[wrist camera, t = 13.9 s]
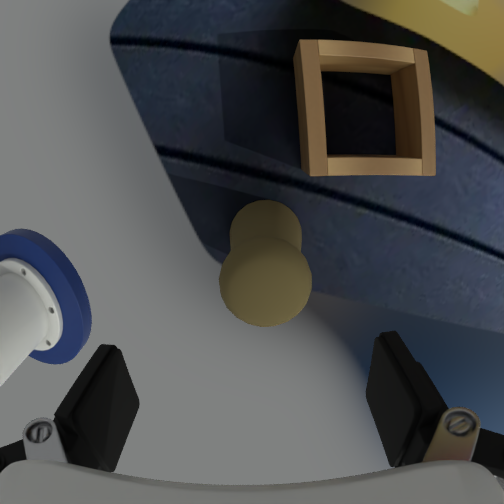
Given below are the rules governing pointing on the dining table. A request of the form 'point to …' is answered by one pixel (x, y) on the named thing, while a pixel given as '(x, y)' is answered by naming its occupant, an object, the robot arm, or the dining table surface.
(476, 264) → the dining table surface
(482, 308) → the dining table surface
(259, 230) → the olive rounded figure
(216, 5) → the dining table surface
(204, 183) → the dining table surface
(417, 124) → the frame
